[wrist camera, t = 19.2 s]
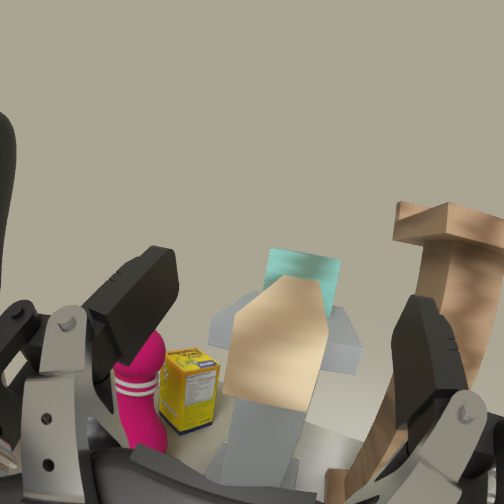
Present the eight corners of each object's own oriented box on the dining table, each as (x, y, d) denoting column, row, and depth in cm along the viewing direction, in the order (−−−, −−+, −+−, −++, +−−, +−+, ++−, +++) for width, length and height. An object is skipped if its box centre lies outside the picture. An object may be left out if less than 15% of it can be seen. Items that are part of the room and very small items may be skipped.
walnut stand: (322, 534, 16) (449, 172, 14) (325, 463, 28) (396, 203, 27) (406, 531, 13) (539, 208, 12) (391, 467, 26) (469, 221, 25)
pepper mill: (101, 445, 24) (92, 294, 23) (153, 439, 29) (160, 297, 28) (118, 486, 18) (103, 321, 18) (177, 476, 23) (190, 322, 22)
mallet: (183, 380, 9) (201, 243, 9) (270, 295, 30) (279, 248, 30) (347, 417, 8) (388, 277, 8) (326, 305, 28) (335, 258, 28)
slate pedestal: (190, 504, 19) (211, 317, 18) (225, 441, 32) (252, 290, 31) (284, 528, 17) (363, 347, 16) (297, 457, 30) (342, 307, 29)
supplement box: (189, 405, 39) (195, 346, 39) (212, 425, 35) (222, 363, 35) (157, 413, 35) (160, 350, 35) (179, 436, 31) (184, 371, 30)
